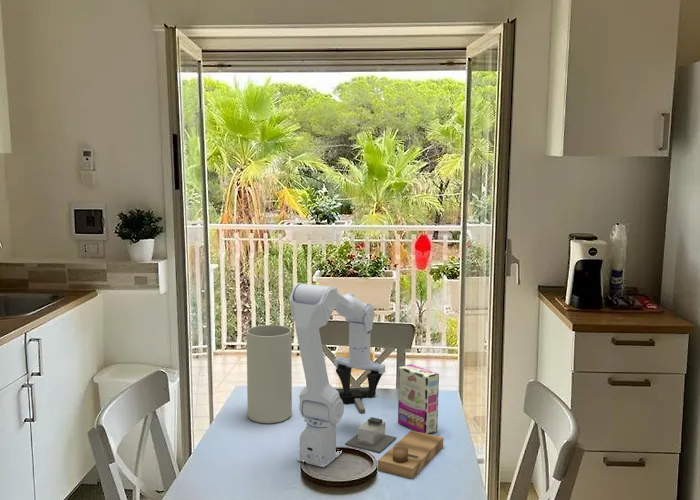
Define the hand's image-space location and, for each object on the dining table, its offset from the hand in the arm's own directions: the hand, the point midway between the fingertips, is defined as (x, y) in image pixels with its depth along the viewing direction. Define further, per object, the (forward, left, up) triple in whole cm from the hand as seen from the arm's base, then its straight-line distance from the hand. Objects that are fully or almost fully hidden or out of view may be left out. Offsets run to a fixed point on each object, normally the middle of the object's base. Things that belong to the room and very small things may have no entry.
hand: (359, 394), depth 184 cm
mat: (-7, -7, -9) cm, 13 cm away
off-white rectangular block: (-6, -7, -9) cm, 13 cm away
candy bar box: (+8, -14, -10) cm, 19 cm away
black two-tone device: (+14, +11, -10) cm, 20 cm away
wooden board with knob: (-10, -20, -9) cm, 24 cm away
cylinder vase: (-5, +26, -10) cm, 28 cm away
